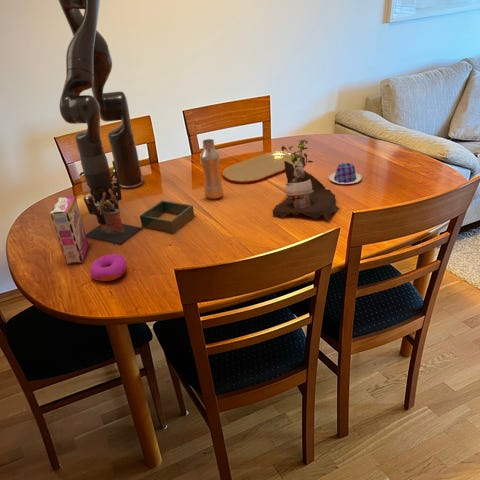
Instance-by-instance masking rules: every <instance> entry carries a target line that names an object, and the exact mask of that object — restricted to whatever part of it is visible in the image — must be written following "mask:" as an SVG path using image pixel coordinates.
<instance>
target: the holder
mask: <svg viewBox="0 0 480 480" xmlns="http://www.w3.org/2000/svg"><path fill="white" fill-rule="evenodd" d="M164 213H167V214H171V215H172V214H173V215H176V216H175V217H173V218H172V219H171V220H170V219H165V218H159V217H160V216H161V215H163V214H164ZM194 217H195V210H194V205H193V204H192V205H191V204H186V203H180V202H176V201H169V200H164V199H163V200H162V199H161V200H160V201H159V202H157V203H156V204H155V205H153V206H152V207H150V208H149V209H147V210H146V211H144V212H143V213H141V214H140V215H139V219H140V223H141V228H145V229H151V230H155V231H160V232H164V233H165V232H166V233H170V234H175V233H176V232H177V231H178V230H179V229H181V228H182V227H184V226H185V225H186V224H187V223H188V222H190V221H191V220H192V219H193V218H194Z"/></svg>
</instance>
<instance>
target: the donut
mask: <svg viewBox="0 0 480 480" xmlns="http://www.w3.org/2000/svg"><path fill="white" fill-rule="evenodd" d="M127 264H128V262H127V260H126V258H125V257H124V256H123V255H121V254H119V253H110V254H105V255H102V256H100V257H98V258H97V259H95V260H94V261H93V262H92V263H91V265H90V269H89V273H90V276H91V277H92V279H94V280H96V281H100V282H109V281H114V280H117V279H118V278H120V277H122V276H123V275H125V272H126V270H127Z"/></svg>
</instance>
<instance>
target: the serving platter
mask: <svg viewBox="0 0 480 480" xmlns="http://www.w3.org/2000/svg"><path fill="white" fill-rule="evenodd" d="M287 153H288V151H272V152H271V151H270V152H266V153H263V154H260V155H257V156H254V157H251V158H249V159H246V160H242V161H240V162H237V163H234V164H231V165H229V166H227V167H225V168H224V169H223V171H222V175H223V177H224V178H225V179H226V180H228V181H230V182H233V183H238V184H239V183H240V184H247V183H255V182H258V181H262V180H264V179H266V178H269V177H272V176H274V175H277V174H280V173H282V172H286V171H285V164H284V161H287V162H288V163H290V164H293V162H292V161H291V158H292V157H291V153H288V154H287ZM292 156H293V157H294V155H292ZM299 161H300V158H297V161H295V164H298V162H299ZM293 165H294V164H293Z"/></svg>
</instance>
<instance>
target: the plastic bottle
mask: <svg viewBox="0 0 480 480" xmlns="http://www.w3.org/2000/svg"><path fill="white" fill-rule="evenodd" d="M202 148H203V149H202V150H201V153H200V157H199V158H200V163H201V166H202V171H203V177H204V188H203V189H204V195H205V197H206V198H208V199H210V200H217V199H220V198H221V197H222V196H223V194H224V187H223V184H222V180H221V176H220V154H219V152H218V151H217V149H216V148H215V140H214V139H211V138H208V139H204V140H202Z"/></svg>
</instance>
